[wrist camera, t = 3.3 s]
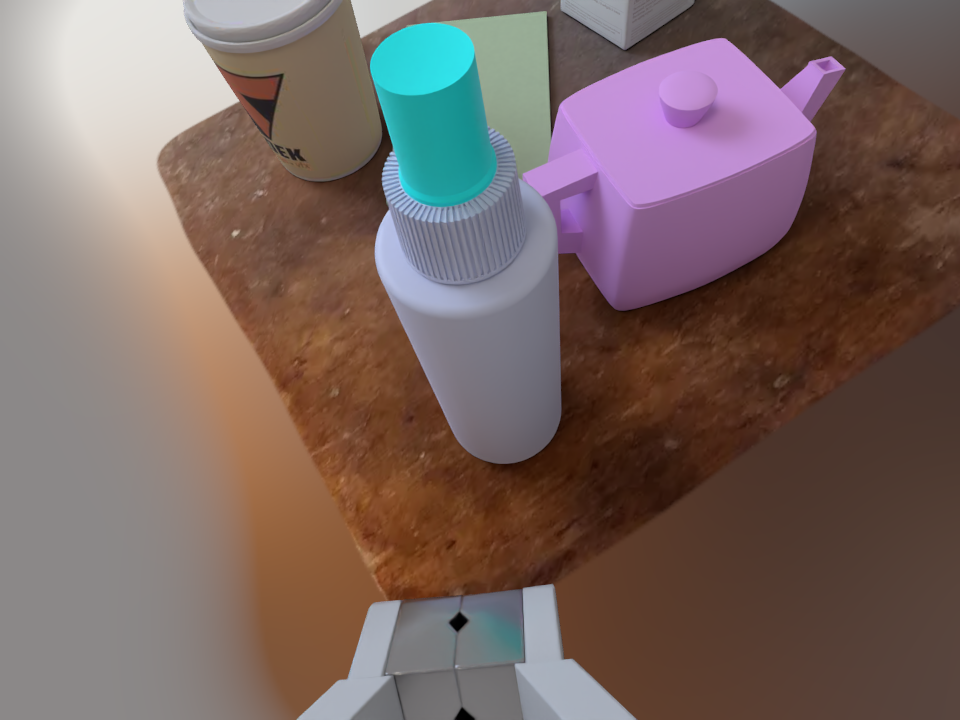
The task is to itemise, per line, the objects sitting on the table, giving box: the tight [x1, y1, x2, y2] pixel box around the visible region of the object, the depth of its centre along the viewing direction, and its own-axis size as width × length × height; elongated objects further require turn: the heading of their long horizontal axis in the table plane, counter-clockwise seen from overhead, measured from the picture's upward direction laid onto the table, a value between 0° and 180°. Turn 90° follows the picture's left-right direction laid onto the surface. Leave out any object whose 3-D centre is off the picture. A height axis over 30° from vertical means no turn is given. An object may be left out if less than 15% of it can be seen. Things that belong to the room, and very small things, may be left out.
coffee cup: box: [183, 0, 382, 181], centre depth 40 cm, size 9×9×12 cm
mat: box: [386, 11, 551, 206], centre depth 45 cm, size 11×18×1 cm, turn 179°
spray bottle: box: [370, 23, 561, 464], centre depth 24 cm, size 6×6×22 cm
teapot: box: [523, 38, 845, 311], centre depth 34 cm, size 18×10×10 cm, turn 113°
